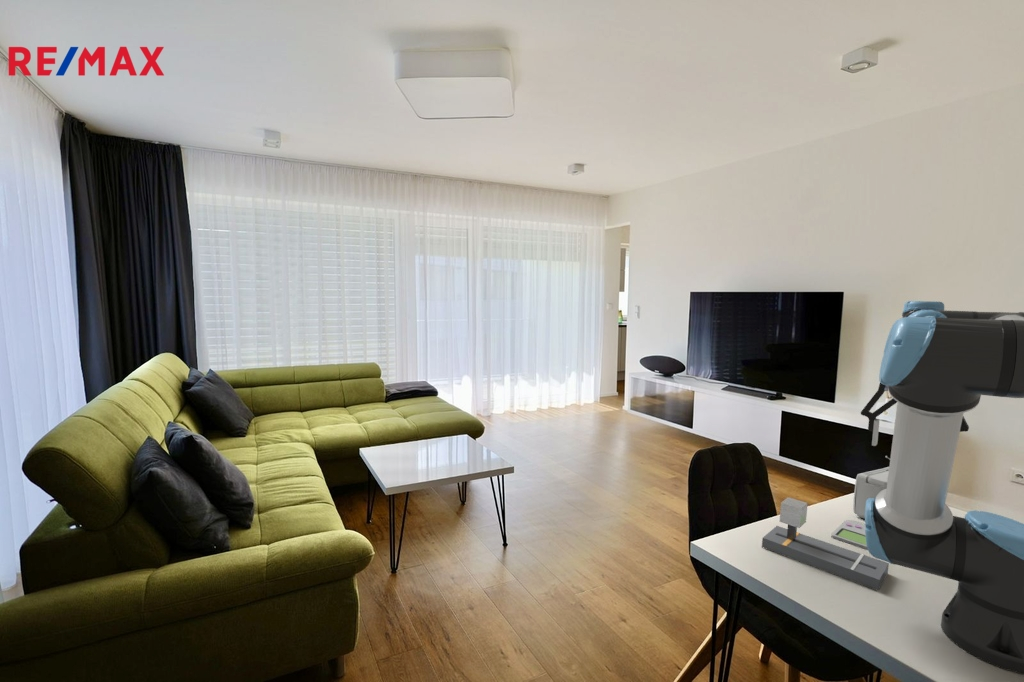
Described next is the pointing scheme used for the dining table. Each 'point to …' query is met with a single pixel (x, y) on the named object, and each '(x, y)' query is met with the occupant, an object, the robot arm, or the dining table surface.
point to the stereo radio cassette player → (868, 488)
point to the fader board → (828, 557)
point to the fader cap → (793, 515)
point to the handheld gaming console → (851, 533)
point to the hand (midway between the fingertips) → (908, 451)
